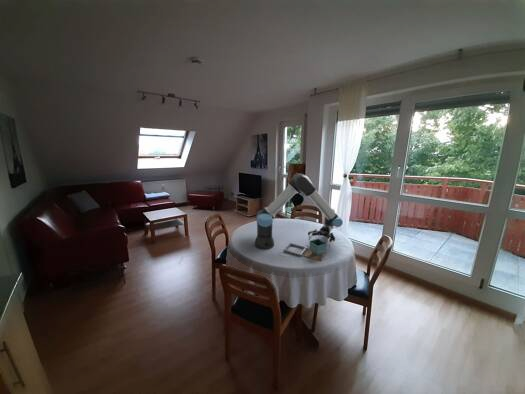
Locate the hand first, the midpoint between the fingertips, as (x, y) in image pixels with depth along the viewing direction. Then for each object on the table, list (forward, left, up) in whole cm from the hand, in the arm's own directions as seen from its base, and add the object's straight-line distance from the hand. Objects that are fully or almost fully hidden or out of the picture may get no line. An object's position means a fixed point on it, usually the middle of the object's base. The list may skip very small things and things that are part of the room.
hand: (318, 240), depth 151 cm
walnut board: (0, -6, -9) cm, 11 cm away
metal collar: (-14, -7, -9) cm, 18 cm away
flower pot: (+1, -5, -8) cm, 10 cm away
